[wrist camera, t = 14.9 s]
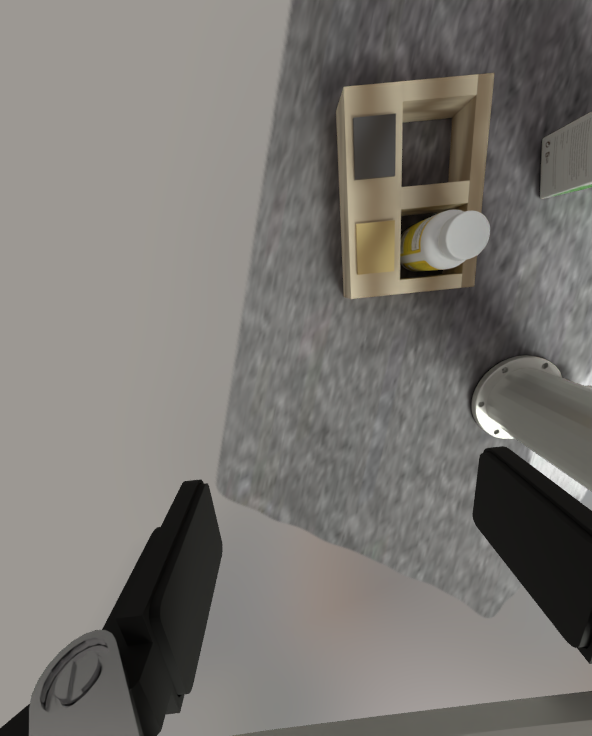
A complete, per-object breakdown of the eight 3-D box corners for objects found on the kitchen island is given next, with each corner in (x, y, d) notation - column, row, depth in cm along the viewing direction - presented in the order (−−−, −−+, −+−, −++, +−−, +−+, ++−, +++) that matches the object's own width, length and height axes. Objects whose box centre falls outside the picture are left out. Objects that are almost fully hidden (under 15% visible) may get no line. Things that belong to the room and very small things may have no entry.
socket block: (467, 99, 30) (496, 70, 26) (453, 285, 35) (475, 286, 31) (335, 111, 29) (344, 84, 25) (343, 296, 35) (351, 299, 31)
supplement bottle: (445, 257, 34) (506, 248, 25) (405, 279, 35) (449, 280, 26) (429, 213, 33) (487, 188, 24) (388, 238, 33) (428, 223, 24)
